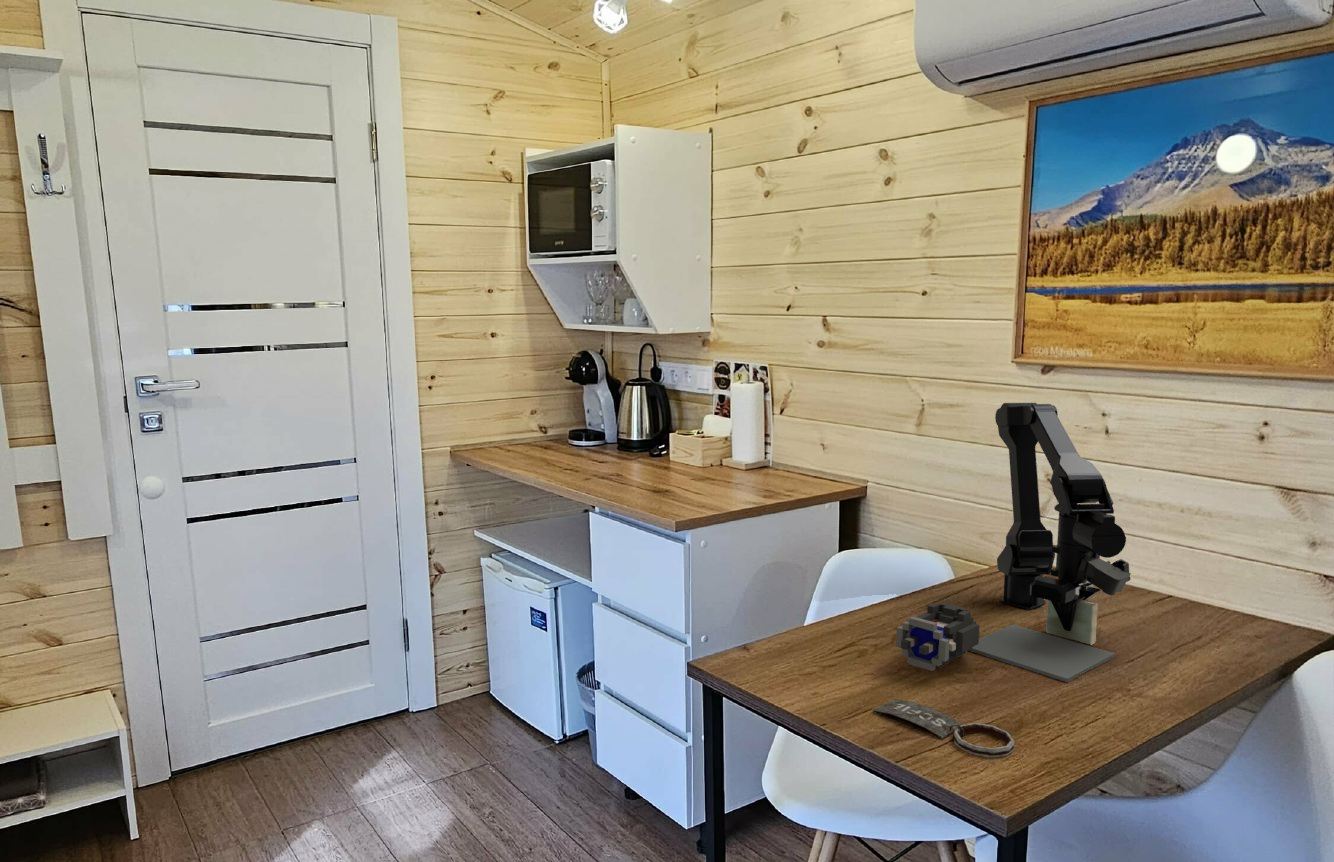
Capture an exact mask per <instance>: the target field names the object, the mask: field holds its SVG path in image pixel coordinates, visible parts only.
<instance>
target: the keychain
mask: <svg viewBox="0 0 1334 862" xmlns="http://www.w3.org/2000/svg"><path fill="white" fill-rule="evenodd" d="M872 712H873V713H875V714H876V715H878V716H882V715H884V714H888V715H892V716H893V717H896V718H899V719H902V720H905V721H907V722H910V723H913V724H915V725H917V726H920V727H922V728H924V729H925V730H928V731H929V732H930V733H933V734H934V736H932V737H933V738H936V739H939V740H940V739H941V740H944V739H946V738H947V737H948V736H951V735H952V736H953V737H952V738H953V741H954V745H955V746H956V747H958V748H960V749H961V750H963V751H964V752H966V753H967V754H971V755H974V756H979V757H983V758H987V759H989V758H991V759H992V758H1003V757H1004V758H1005V757H1007V756H1008V755H1010V754H1012V753H1013V752H1015V750H1016V749H1015V746H1014V745H1015V744H1016V741H1015V740H1014V738H1013V737H1012V736H1011V734H1010V733H1009V731H1006V730H1004V729H1002V728H999V727H997V726H994V725H991V724H985V723H977V722H972V723H966V724H965V723H962V722H960V721H958V720H957V719H955V718H953V717H951V716H949V715H947V714H946V713H943V712H941V711H939V710H936V709H934V708H932V707H928V706H926V705H922V704H920V703H916V702H913V701H910V700H905V699H904V700H903V699H897V698H893V699H892V700H890V701H888V702H887V703H884V704H882V705H880V706H878V707H876V708H873V709H872ZM973 733H976V734H977V733H982V734H986V735H990V736H995V737H997V738H998V739H1000V740H1002V741H1004V742H1005V743H1007V744H1006V745H1005V746H1004V745H1003V746H998V747H986V746H980V745H974V744H972V743H971V742H969V741H967V740H964V739H963V738H961V737H964V736H965V734H973Z"/></svg>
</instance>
